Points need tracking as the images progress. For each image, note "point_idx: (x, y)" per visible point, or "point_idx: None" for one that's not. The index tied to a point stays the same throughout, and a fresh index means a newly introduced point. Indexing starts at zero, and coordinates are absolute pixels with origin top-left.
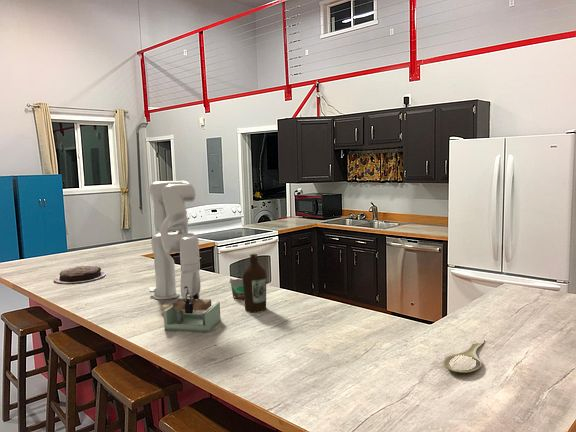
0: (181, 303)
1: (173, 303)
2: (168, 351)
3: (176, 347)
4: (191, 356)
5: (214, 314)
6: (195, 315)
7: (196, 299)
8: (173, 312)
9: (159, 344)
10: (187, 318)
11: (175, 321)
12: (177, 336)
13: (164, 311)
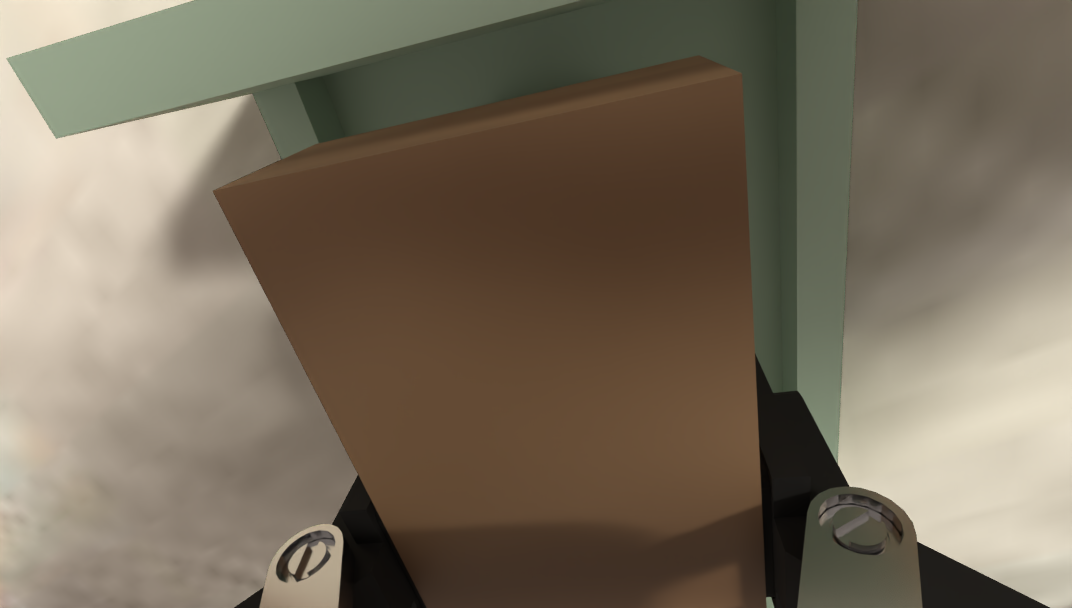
0: (341, 421)
1: (240, 204)
2: (14, 404)
3: (99, 418)
4: (93, 553)
5: None
6: (793, 244)
7: (728, 589)
8: (458, 36)
9: (19, 258)
10: (745, 116)
11: (550, 17)
12: (253, 302)
13: (34, 86)
